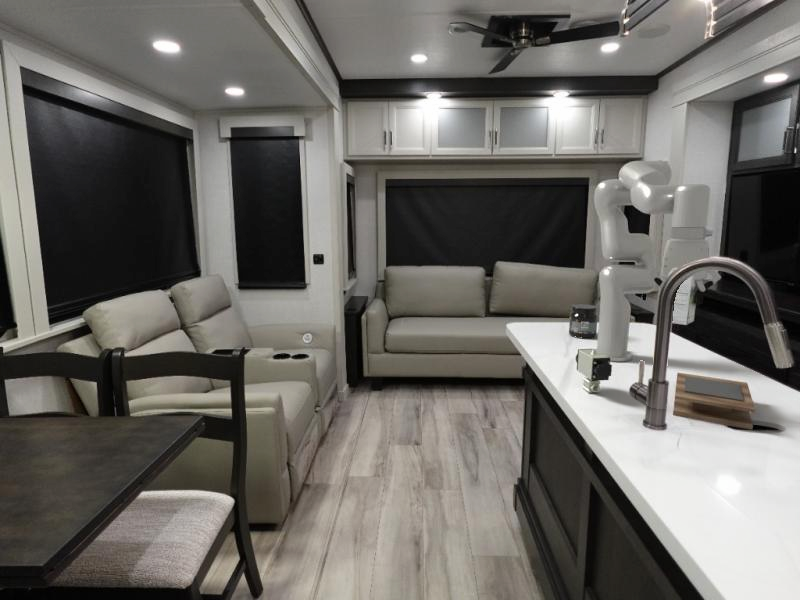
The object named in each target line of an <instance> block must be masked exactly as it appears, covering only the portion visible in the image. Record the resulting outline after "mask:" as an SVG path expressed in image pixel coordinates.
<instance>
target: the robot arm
mask: <svg viewBox="0 0 800 600" xmlns="http://www.w3.org/2000/svg"><path fill="white" fill-rule="evenodd" d="M671 179H672V169H671V166H670V165H669V164H668V163H667V162H666V161H663V160H633V161H629V162H627V163H625V164H624V165H623V166H621V168H620V170H619V172H618V178H613V179H607V180H602V181H601V182H599V183H598V184H597V186H596V188H595V190H594V197H593V198H594V199H593V200H594V201H593V203H594V207H595V211H596V214H597V217H598V219H599V225H600V237H601V238H600V241H601V251H602V252H601V253H602V256H603V258H604V259H605V260H606V261H607V262H608V261H609V262H617V263H618V262H619V263H620V262H621V263H623V262H624V263H627V262H630V263H631V262H632V263H633V262H634V263H635V264H611V265H607V266H604V267H603V268H602V269H601V270H600V272H599V275H598V276H599V277H598V281H599V291H600V304H599V305H600V306H599V316H598V318H599V319H598V329H597V331H598V332H597V346H596V348H594V349H595V350H596V351H598V352H600V353H604V354H606V356H607V357H609V358H610V362H628V361H631V360H632V357H633V355H632V354H631V353H630V352H629V351H628V346H629V334H630V332H629V331H630V322H631V311H632V310H631V304H630V302H629V301H628V299H627V298H626V296H625V295H626V294H627V295H629V294H649V293H651V292H653V291H654V289H655V288H656V286H657V285H658V286H659V288H660V289H661V288H662V286H663V284H664V282H665V280H666V279H667V278H668V274H669V272H670V271H671V270H672V269H673V268H674V267H680V266H682V265H684V264H686V263H689V262H692V261H695V260H699V259H703V258H709V259H710V243H709V240H706V238H708V237H712V236H713V232H714V231H713V230H710V229H707V224H708V216H709V215H708V214H709V206H710V205H709V204H710V197H711V188H710V186H709V185H707V184H703V183H693V184H691V183H690V184H689V183H687V184H686V183H685V184H678V185H677V184H670V182H671ZM618 206H633V207H634V208H635V209H637V210H638V211H640V212H641V213H643V214H646V215H672V218H671V219H672V220H671V230H670V238H669V239H667V240H666V243H665V247H664V249H663V250H664V251H663V255H662V260H661V261H662V263H660V264H659V265H657V266H656V264H657V263H656V253H655V244H654V242H653V239H652V238H651V237H650V236H649V235H648V234H647V233H646V234H645V233H639V232H638V233H634V232H633V233H630V231H629V224H628V222H629V221H628V218H627V217H626V215H625V214H624V212H623V211H622V210H621V209H620V208H619V207H618ZM658 272H660V274H661V277H662V278H664V279H663V280H662V279H661V278H660V277H659V276H658V274H657V273H658ZM708 274H709V275H711V277H712V278H711V279H709V280H707V281H706V282H705V283H704V280H706V279H707V277H708ZM721 279H722V276H721V275H720V273H718V272H717V271H716V270H715V269H713V270H707V271H702V272H699V273H697V274H695V275H694V280H695V281H696V282H697V285H698V290H697V298H696V308H700V305H702V304H704V293H705V291H706V290H708V289H709V288H711V287H712V286H713V285H715V284H716V283H717V282H718V281H720V280H721Z"/></svg>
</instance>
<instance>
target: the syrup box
mask: <svg viewBox="0 0 800 600" xmlns="http://www.w3.org/2000/svg"><path fill="white" fill-rule="evenodd" d="M677 268H679V267H674V268H673V269H672V270H671V271H670V272H669V274H668V276H669V275H670V274H671V273H672V272H673V271H675V270H676V269H677ZM698 289H699V287H698V285H697V282H696V281H695V280H694V275H693V276H691V277H690V278H688V279H687V280H685V281H684V282H683V283H682V284H681V285H680V287H679V289H678V290H677V293H676V297H675V301H674V311H673V321H672V323H671V324H675V325H676V324H677V325H683V326H687V325H689V324H692V323H693V322H695V316H696V308H697V306H696V298H697V290H698Z"/></svg>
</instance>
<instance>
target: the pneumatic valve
mask: <svg viewBox="0 0 800 600" xmlns="http://www.w3.org/2000/svg"><path fill="white" fill-rule="evenodd" d="M595 349H596V348H579V349H577V353H576V355H575V362H576V371H577V372H579V373H580V374H582V375H583V376H585V377H583V378H582V380H583V381H582V383H583V384H582V389H583V390H584V391H585V392H587V393H588V394H591V393H597V394H598V393H600V392H601V391H600V389H601V385H600V384H601V381H609V380H610V377H612V368H613V364H611V361H610V358H609V357H607V356H606V354H604V353H600V352H598V351H596V350H595Z"/></svg>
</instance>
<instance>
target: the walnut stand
mask: <svg viewBox="0 0 800 600" xmlns="http://www.w3.org/2000/svg"><path fill="white" fill-rule="evenodd" d="M675 382H676V385H675V393H674V401H673V412H672V415H673V416H677V417H682V418H688V419H693V420H698V421H703V422H710V423H714V424H719V425H725V426H730V427H736V428H740V429H744V430H745V429H746V430H751V431H752V430H754V429H753V427H754V423H753V419H752V416H751V413H756V408H755V405H754V400H753V397H752V393H751V391H750V388H749V384H748V382H746V381H738V380H731V379H725V378H717V377H710V376H703V375H697V374H689V373H684V372H679V371H678V372H677V374H676V381H675Z"/></svg>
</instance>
